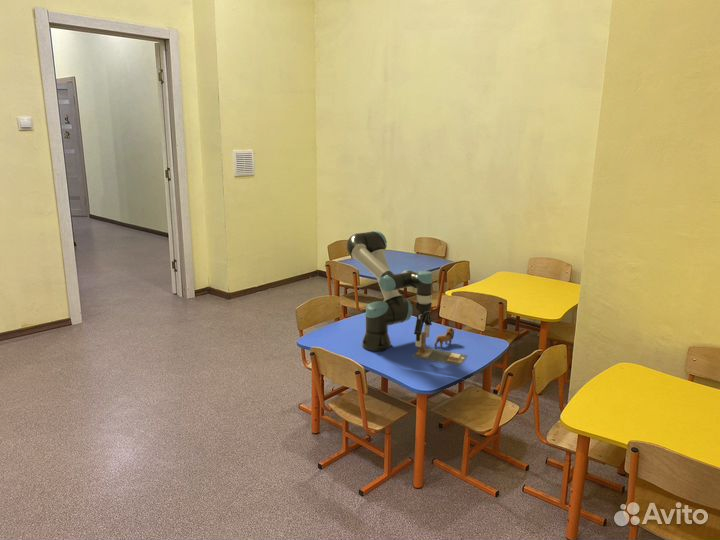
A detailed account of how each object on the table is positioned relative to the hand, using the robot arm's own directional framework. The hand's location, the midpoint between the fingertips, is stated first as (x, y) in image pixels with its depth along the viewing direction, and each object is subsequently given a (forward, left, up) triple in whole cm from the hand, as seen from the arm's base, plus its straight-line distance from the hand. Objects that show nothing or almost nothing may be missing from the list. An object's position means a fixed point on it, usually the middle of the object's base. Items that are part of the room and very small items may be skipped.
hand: (422, 341), depth 273 cm
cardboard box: (+1, 0, -6) cm, 6 cm away
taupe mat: (+10, 0, -7) cm, 12 cm away
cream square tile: (+17, 0, -6) cm, 18 cm away
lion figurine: (+7, +15, -7) cm, 18 cm away
